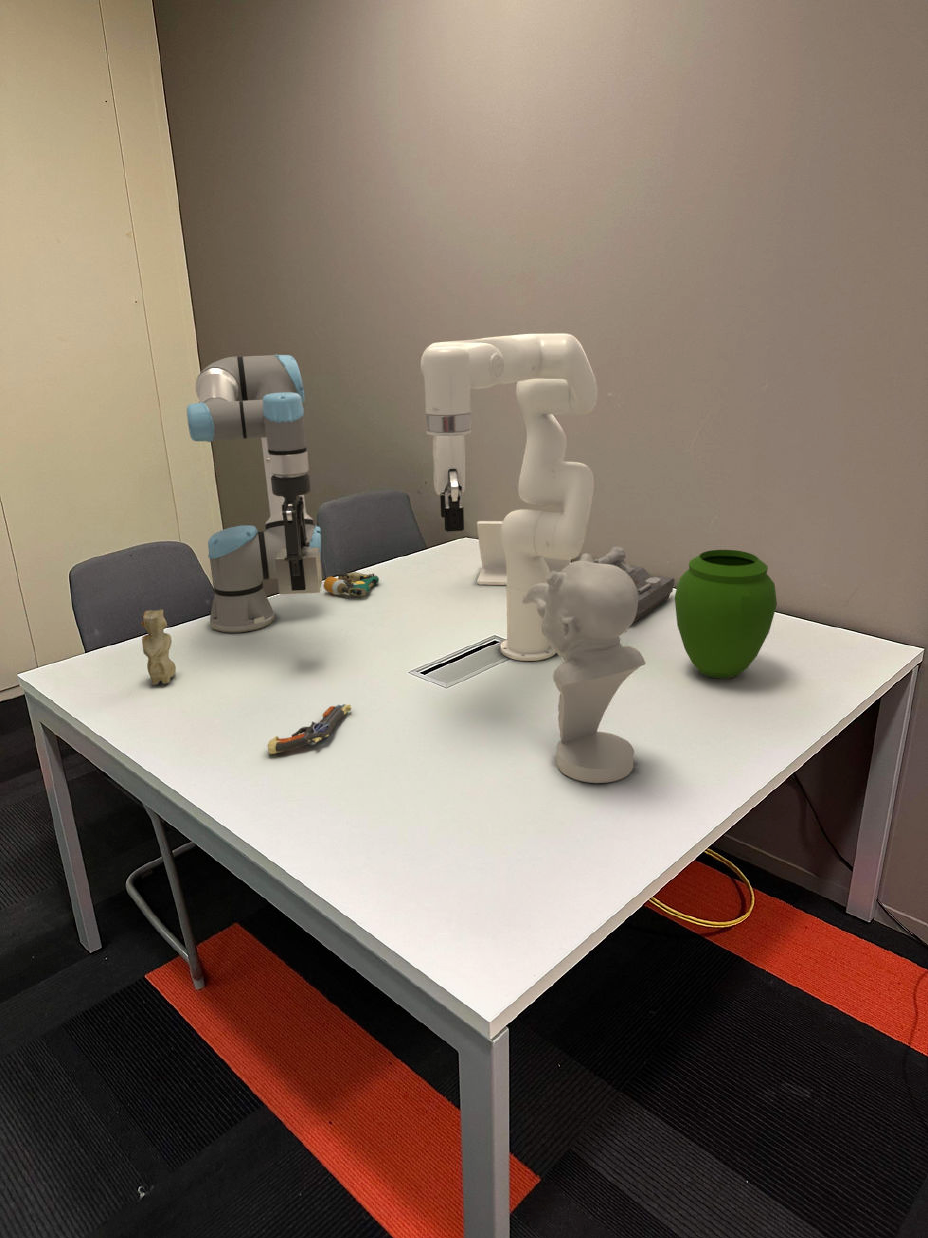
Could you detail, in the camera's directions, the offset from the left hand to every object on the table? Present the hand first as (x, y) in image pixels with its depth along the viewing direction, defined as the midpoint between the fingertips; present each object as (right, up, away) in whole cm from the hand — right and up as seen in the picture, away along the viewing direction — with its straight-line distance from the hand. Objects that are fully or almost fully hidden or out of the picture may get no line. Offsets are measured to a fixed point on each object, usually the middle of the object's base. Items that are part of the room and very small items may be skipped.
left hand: (300, 583), depth 177 cm
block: (0, -1, 0) cm, 1 cm away
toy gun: (+6, -28, -22) cm, 36 cm away
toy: (+72, -4, +37) cm, 81 cm away
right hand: (+32, +9, -28) cm, 44 cm away
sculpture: (-29, -20, +2) cm, 36 cm away
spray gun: (+4, +1, +55) cm, 55 cm away
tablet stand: (+51, +5, +62) cm, 80 cm away
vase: (+86, -18, -2) cm, 88 cm away
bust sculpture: (+53, -31, -33) cm, 69 cm away
